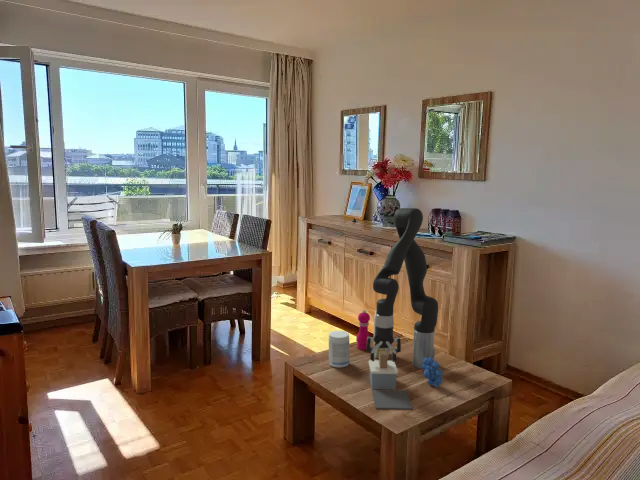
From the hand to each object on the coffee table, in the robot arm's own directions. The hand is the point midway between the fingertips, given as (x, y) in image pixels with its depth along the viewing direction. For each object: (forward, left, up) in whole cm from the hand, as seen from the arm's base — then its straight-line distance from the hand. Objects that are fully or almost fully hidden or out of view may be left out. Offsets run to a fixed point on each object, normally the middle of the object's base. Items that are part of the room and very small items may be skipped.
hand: (382, 361), depth 198 cm
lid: (0, 0, -3) cm, 3 cm away
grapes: (-20, +1, -10) cm, 23 cm away
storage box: (0, 0, -10) cm, 10 cm away
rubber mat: (-2, +14, -10) cm, 17 cm away
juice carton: (-3, -29, -10) cm, 31 cm away
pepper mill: (+5, -39, -10) cm, 41 cm away
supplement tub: (+18, -19, -10) cm, 28 cm away
